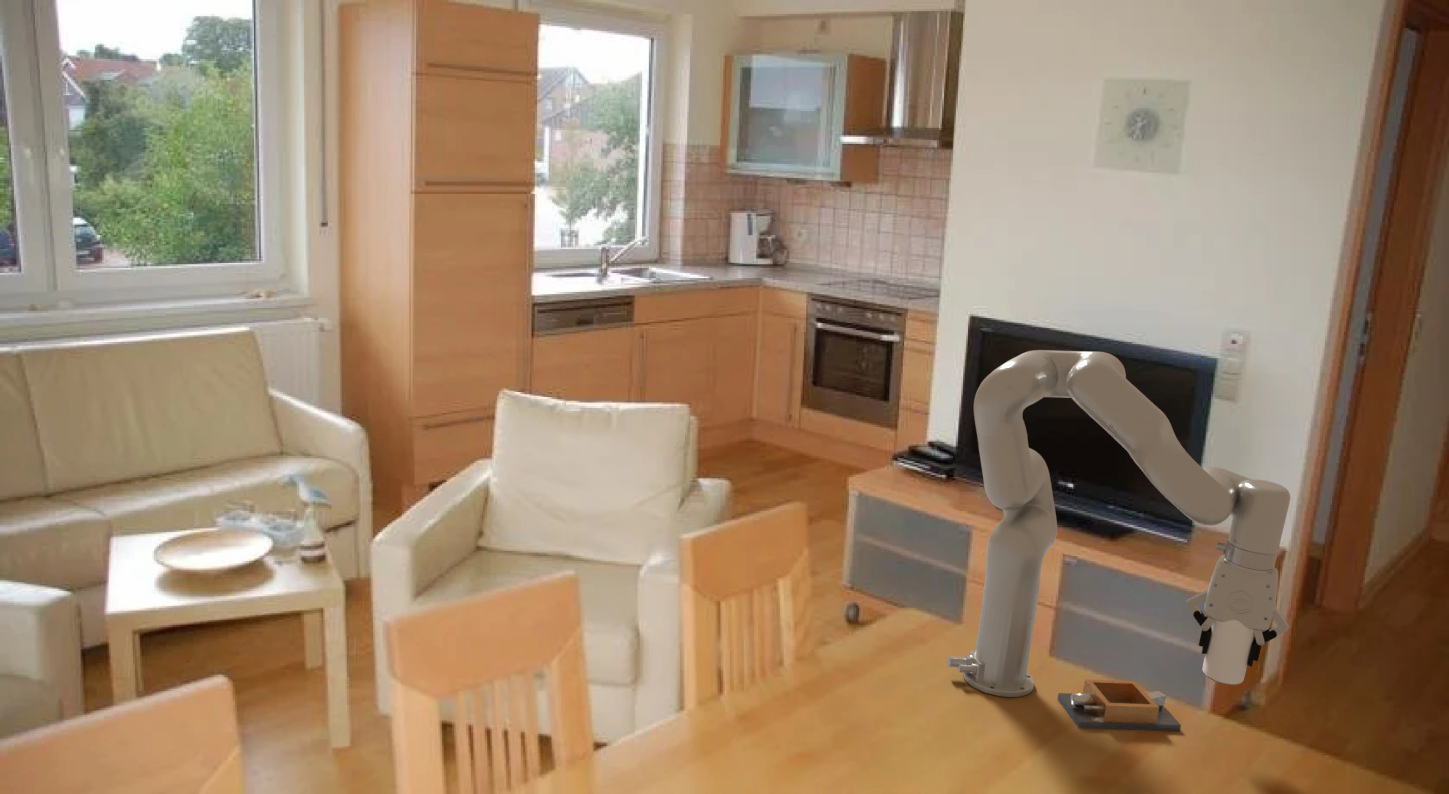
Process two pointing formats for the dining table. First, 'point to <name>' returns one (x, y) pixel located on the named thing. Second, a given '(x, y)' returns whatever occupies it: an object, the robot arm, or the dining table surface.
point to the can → (1228, 652)
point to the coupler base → (1118, 707)
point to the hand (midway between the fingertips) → (1227, 656)
